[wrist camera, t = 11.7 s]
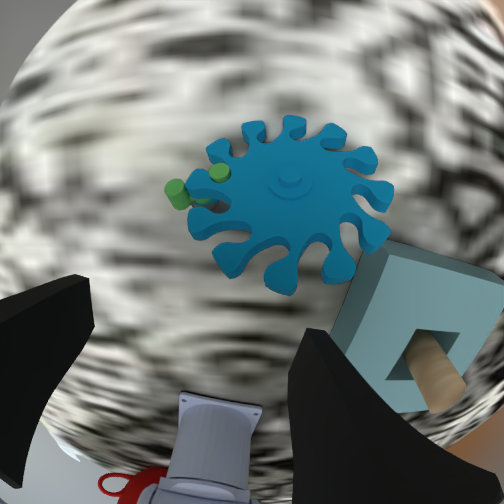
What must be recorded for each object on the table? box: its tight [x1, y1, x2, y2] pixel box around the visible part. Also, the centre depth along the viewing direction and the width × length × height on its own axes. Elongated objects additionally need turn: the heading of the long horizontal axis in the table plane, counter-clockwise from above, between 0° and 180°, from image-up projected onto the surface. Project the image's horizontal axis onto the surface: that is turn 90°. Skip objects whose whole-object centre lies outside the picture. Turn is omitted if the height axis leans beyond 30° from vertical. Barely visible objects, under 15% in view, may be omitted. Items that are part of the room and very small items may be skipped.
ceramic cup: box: [98, 467, 168, 504], centre depth 28 cm, size 13×17×10 cm
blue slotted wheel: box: [164, 115, 394, 296], centre depth 14 cm, size 11×6×10 cm
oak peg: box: [401, 329, 466, 413], centre depth 16 cm, size 3×3×8 cm
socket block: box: [330, 239, 504, 413], centre depth 18 cm, size 14×14×4 cm
